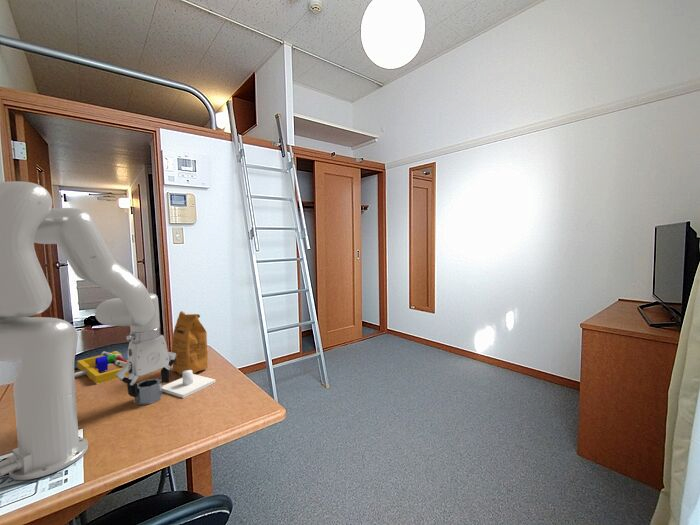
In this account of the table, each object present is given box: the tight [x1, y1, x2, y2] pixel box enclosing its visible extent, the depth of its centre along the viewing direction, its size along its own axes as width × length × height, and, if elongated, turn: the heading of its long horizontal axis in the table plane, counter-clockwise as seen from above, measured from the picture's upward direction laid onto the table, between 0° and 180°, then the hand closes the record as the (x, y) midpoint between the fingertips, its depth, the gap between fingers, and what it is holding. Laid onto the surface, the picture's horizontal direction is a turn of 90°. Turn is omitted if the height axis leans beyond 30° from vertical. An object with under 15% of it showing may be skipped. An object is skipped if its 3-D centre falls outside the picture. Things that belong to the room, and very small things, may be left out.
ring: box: [134, 378, 163, 406], centre depth 96 cm, size 7×7×5 cm
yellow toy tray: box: [74, 350, 129, 385], centre depth 119 cm, size 18×6×30 cm
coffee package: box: [171, 311, 209, 376], centre depth 117 cm, size 10×12×22 cm
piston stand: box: [162, 370, 216, 399], centre depth 104 cm, size 12×12×5 cm
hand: (150, 388), depth 97 cm, fingers open, 9 cm apart
